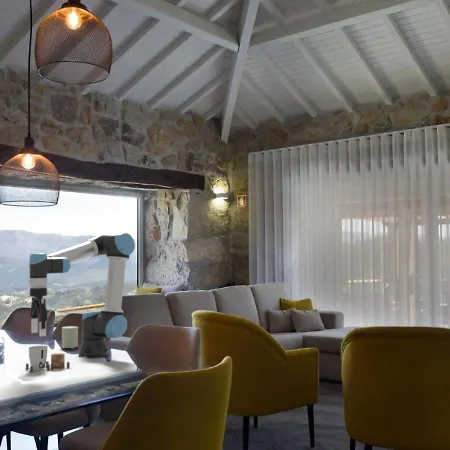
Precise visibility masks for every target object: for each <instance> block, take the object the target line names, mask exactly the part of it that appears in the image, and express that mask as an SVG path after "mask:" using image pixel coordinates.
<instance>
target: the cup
mask: <svg viewBox="0 0 450 450" xmlns="http://www.w3.org/2000/svg"><path fill="white" fill-rule="evenodd" d="M47 357H48V346H47V345H34V346H28V359H29V366H33V370H43V369H44V367H45V366H46V361H47Z"/></svg>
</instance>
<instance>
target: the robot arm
mask: <svg viewBox="0 0 450 450" xmlns="http://www.w3.org/2000/svg"><path fill="white" fill-rule="evenodd" d="M135 248H136V242H135V240H134V237H133V236H132V235H131V234H130V233H128V232H121V231H120V232H119V231H118V232H108V233H107V232H106V233H103V234H100V235H98V236H95V237H92V238H89V239H87V240H86V241H85V242H84V243H83V242H82V243H80V244H77V245H74V246H71V247H67V248H64V249H62V250H59V251H56V252H53V253H50V254H47V253H43V252H42V253H30V255H29V262H28V263H29V264H28V266H29V267H28V268H29V280H28V284H29V296H30V297H31V305H30V312H29V318H30V319H31V320H30V321H31V322H30V323H31V331H30V332H31V334H36V333H39V337H46V336H47V321H48V312H47V311H48V310H47V305H46V298H44V297H46V296H47V295H48V288H47V287H48V274H49V275H51V274H64V273H65V274H66V273H68V272H69V271H70V270H71V264H72V263H75V262H77V261H80V260H83V259H86V258H89V257H91V258H94V257H99V256H106V258H107V260H108V267H107V268H108V270H107V279H106V288H105V295H104V296H105V297H104V307H103V308H101V309H100V310H99V311H89V312H84V313H83V314H82V316H81V330H82V331H81V344H80V346H79V350H78V358H84V357H85V358H87V359H98V358H99V359H100V358H105V357H107V355H108V356H109V350H108V346H107V343H106V338H109V339H117V338H120V337H122V336H123V335H124V334H125V333H126V331H127V328H128V320H127V318H126V317H125V316H124V313H125V312H124V310H123V308H122V303H123V294H124V293H123V292H124V284H125V275H126V264H127V262H128V261H129V259H130V255H132V254H133V252H134V251H135ZM38 322H39V323H38Z"/></svg>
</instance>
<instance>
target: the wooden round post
mask: <svg viewBox="0 0 450 450" xmlns="http://www.w3.org/2000/svg"><path fill="white" fill-rule="evenodd" d="M65 358H66V356H65V353H63V352H56V353H55V352H54V353H51V354H50V365H51V364H53V369H59V368H64V367H65V365H66V364H65Z"/></svg>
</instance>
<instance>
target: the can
mask: <svg viewBox="0 0 450 450" xmlns="http://www.w3.org/2000/svg"><path fill="white" fill-rule="evenodd" d="M77 346H78V347H79V326H75V325H74V326H73V325H69V326H62V327H61V349H64V348H71V349H75V348H74V347H77ZM78 347H77V348H78Z"/></svg>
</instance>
